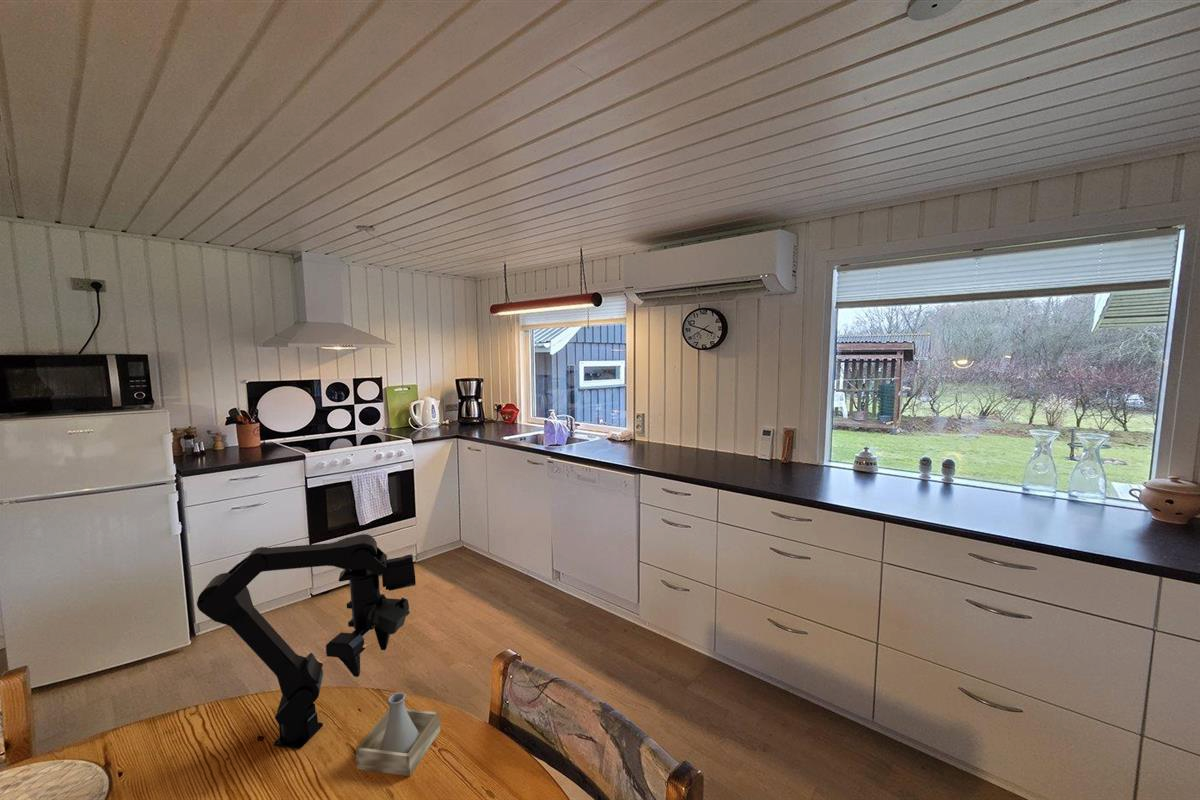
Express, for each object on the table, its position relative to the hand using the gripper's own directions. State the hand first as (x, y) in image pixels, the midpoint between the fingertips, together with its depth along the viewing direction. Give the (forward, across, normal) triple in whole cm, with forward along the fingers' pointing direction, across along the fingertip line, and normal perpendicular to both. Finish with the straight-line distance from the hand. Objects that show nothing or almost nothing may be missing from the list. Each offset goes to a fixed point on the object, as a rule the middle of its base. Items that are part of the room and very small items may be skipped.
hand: (370, 662), depth 105 cm
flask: (+11, -8, -11) cm, 18 cm away
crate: (+12, -8, -12) cm, 18 cm away
